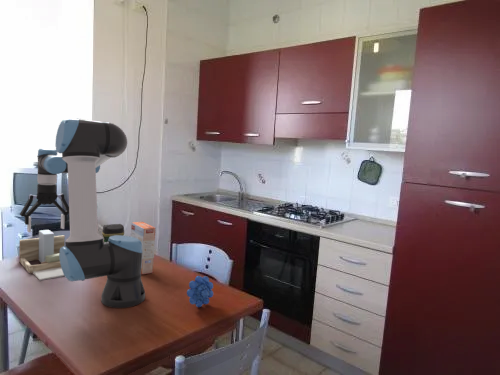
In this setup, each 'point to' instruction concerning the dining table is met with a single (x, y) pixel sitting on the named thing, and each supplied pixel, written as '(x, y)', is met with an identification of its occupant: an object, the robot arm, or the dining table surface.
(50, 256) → the offcut
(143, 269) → the cracker box
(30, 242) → the rack
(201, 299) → the blue knobbly flower shape
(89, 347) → the dining table surface
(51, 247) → the white rectangular box
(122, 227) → the coffee jar
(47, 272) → the mat
